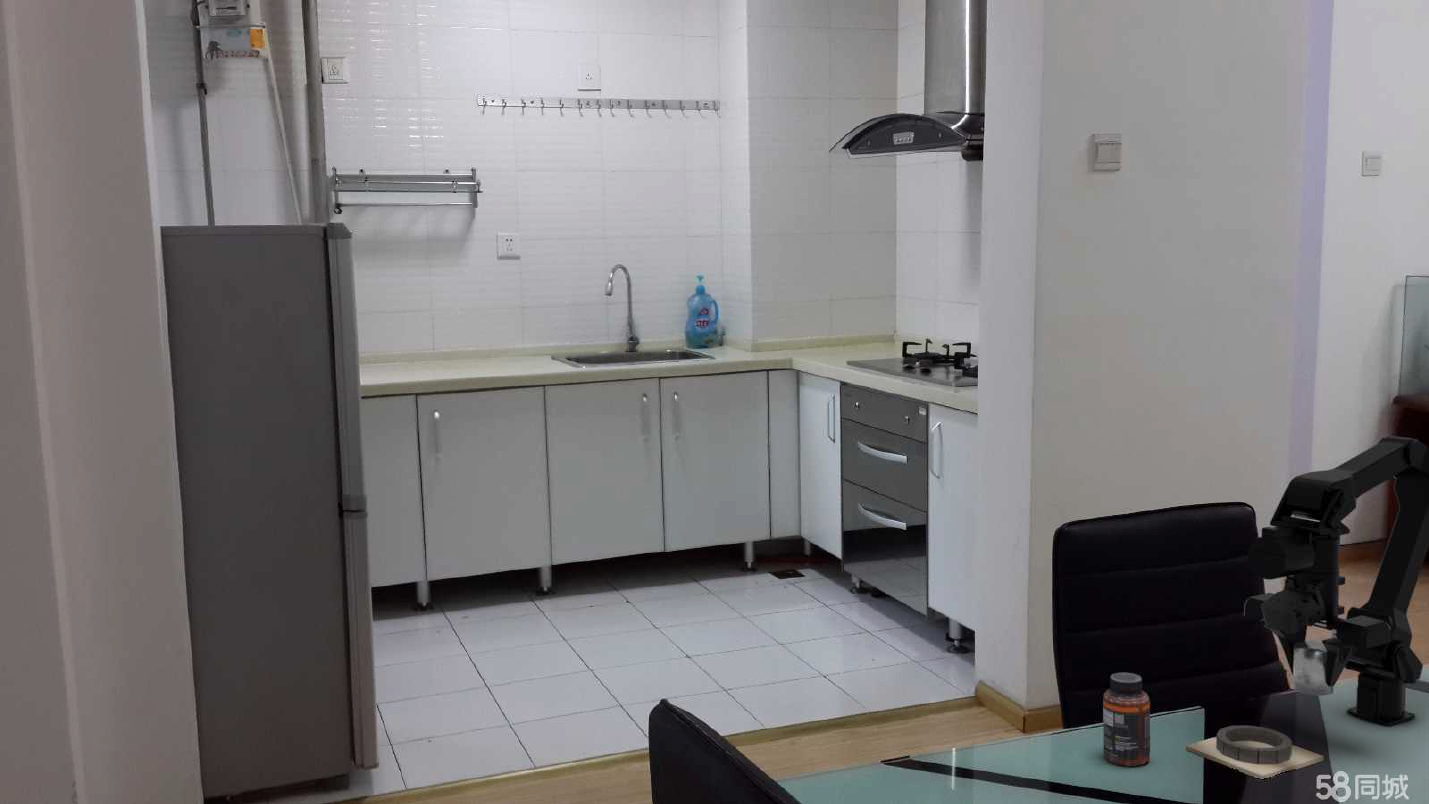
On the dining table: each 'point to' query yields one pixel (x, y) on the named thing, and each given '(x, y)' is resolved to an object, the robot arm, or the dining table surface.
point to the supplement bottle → (1126, 721)
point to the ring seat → (1254, 751)
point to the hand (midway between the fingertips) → (1313, 680)
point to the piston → (1310, 669)
